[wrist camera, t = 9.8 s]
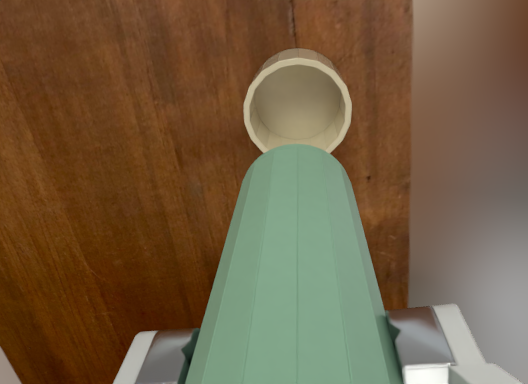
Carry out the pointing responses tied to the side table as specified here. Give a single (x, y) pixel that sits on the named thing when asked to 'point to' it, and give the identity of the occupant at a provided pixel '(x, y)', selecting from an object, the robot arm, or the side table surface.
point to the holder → (297, 102)
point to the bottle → (295, 283)
